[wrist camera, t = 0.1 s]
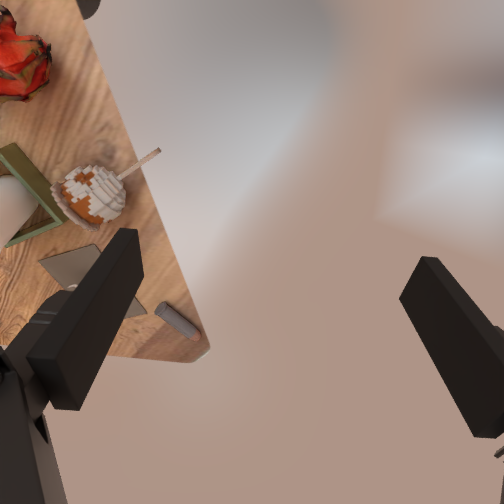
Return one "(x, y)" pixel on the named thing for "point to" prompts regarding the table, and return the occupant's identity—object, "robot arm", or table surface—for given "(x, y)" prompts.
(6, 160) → the olive square frame
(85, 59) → the table surface
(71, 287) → the platform
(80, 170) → the caramel apple
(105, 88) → the table surface
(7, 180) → the foam cup
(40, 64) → the dragon fruit
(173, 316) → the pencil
